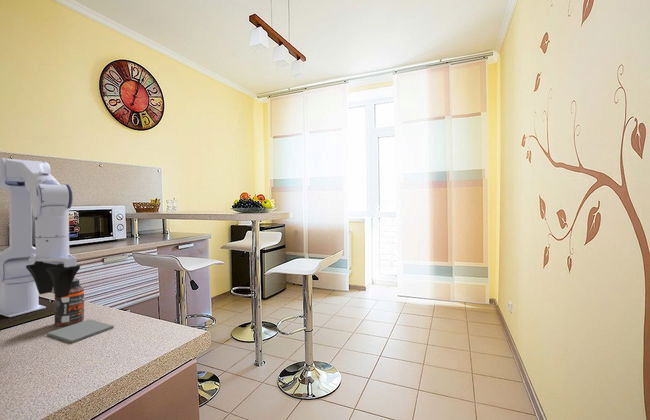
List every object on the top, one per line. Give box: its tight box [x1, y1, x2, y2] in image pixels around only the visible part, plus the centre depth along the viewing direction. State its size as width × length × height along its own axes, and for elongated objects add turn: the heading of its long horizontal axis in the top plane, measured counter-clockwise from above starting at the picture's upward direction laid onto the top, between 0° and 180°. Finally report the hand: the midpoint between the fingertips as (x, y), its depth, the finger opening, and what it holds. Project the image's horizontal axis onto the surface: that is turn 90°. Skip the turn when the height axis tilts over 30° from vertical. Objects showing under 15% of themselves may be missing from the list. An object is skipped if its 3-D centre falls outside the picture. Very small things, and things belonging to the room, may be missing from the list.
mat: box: [47, 319, 115, 344], centre depth 73 cm, size 10×9×1 cm
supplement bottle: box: [54, 277, 85, 327], centre depth 79 cm, size 6×6×11 cm
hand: (53, 294), depth 69 cm, fingers open, 6 cm apart
